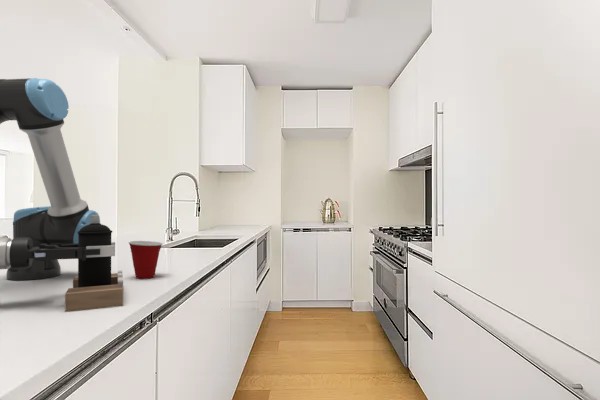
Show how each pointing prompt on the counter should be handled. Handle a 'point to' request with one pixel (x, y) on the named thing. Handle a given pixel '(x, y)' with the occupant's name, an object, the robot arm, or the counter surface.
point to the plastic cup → (145, 258)
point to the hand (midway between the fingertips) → (114, 248)
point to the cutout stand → (95, 295)
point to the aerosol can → (94, 268)
